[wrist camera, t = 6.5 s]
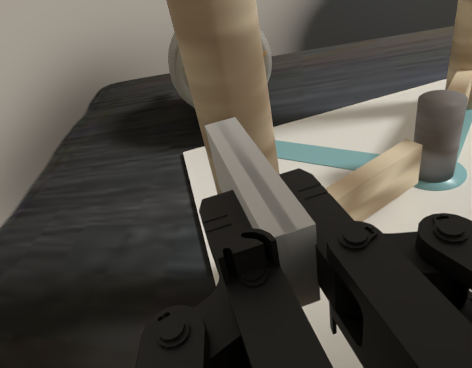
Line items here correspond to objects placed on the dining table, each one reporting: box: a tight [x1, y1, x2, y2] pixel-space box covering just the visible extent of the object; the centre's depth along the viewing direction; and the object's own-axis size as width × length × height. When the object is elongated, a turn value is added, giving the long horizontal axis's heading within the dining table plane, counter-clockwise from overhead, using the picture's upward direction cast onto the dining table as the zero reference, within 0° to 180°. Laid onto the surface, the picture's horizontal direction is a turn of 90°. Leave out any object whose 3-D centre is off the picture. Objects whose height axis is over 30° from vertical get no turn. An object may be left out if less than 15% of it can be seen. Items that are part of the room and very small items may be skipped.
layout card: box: [183, 79, 472, 368], centre depth 27 cm, size 28×26×1 cm
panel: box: [167, 0, 423, 221], centre depth 17 cm, size 14×3×20 cm, turn 124°
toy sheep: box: [168, 29, 272, 108], centre depth 39 cm, size 11×17×11 cm, turn 26°
